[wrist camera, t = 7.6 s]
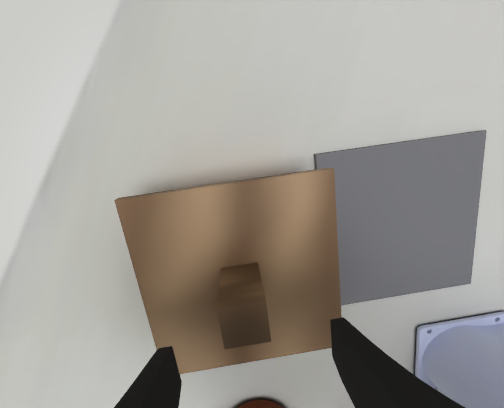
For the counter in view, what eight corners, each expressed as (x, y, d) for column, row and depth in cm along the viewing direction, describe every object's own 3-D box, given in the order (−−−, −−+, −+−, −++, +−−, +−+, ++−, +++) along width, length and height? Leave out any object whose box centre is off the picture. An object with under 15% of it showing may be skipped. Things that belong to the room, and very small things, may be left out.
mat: (481, 130, 20) (486, 130, 20) (466, 281, 23) (470, 283, 23) (314, 154, 19) (315, 154, 19) (324, 304, 23) (326, 307, 22)
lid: (330, 167, 15) (370, 177, 11) (339, 339, 18) (373, 401, 14) (119, 197, 15) (69, 221, 10) (166, 369, 18) (144, 444, 13)
